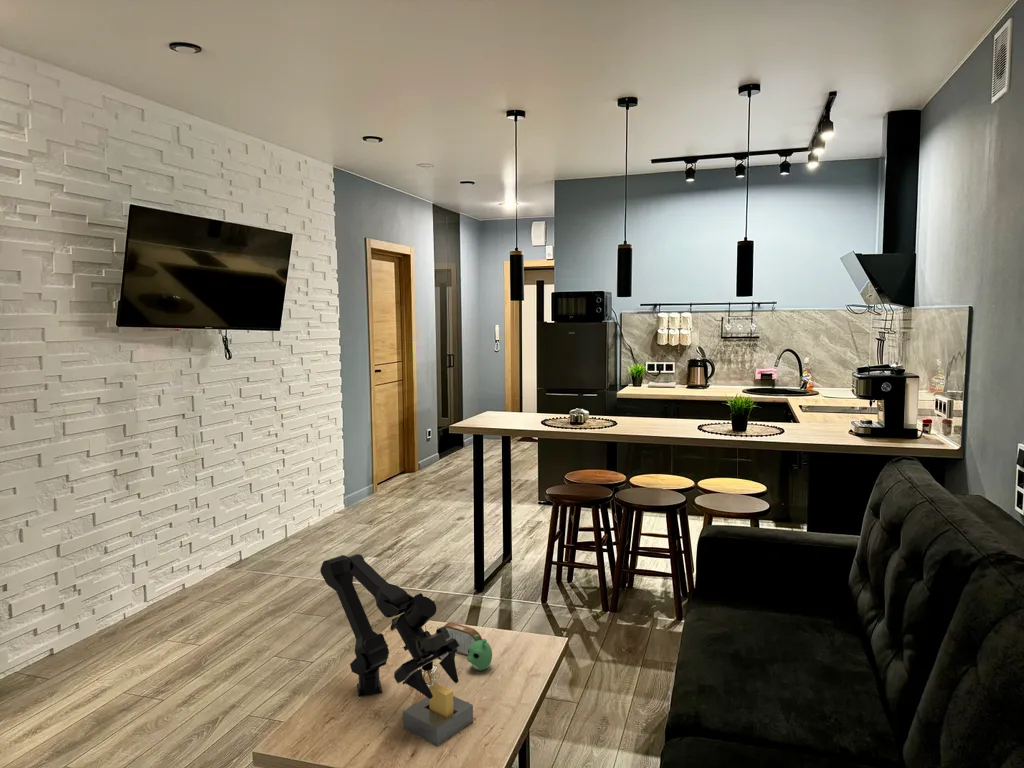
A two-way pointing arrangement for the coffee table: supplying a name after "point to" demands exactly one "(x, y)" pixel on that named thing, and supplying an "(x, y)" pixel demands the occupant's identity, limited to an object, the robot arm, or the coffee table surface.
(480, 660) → the alien toy
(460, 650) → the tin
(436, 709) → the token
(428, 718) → the box
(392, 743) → the coffee table surface
